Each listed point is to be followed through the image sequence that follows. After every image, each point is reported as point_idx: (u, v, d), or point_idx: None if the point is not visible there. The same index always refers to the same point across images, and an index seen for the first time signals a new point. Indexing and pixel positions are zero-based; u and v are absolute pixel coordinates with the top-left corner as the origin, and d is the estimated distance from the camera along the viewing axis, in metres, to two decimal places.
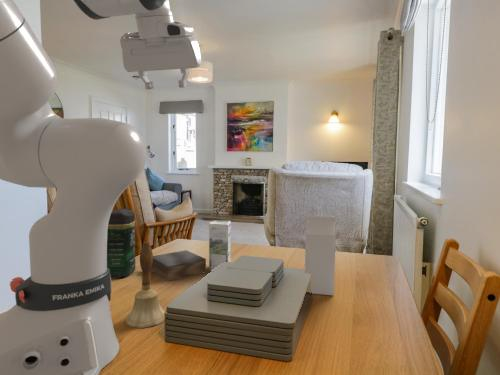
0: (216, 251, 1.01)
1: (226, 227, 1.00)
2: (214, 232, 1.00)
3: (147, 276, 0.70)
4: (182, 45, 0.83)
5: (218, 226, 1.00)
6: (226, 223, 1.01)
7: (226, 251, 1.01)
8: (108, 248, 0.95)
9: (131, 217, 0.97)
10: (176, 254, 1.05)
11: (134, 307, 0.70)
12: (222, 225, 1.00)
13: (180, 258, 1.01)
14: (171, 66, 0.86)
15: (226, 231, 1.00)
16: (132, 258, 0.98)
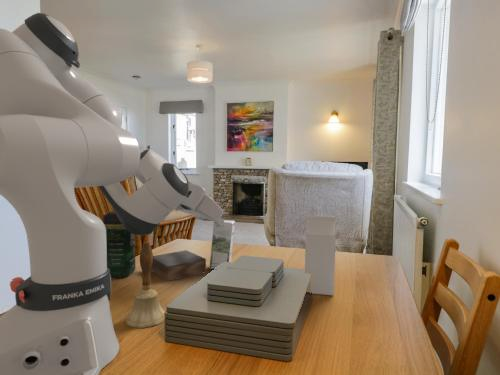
0: (218, 249, 1.01)
1: (230, 225, 1.01)
2: (218, 229, 1.01)
3: (147, 276, 0.70)
4: None
5: (223, 224, 1.01)
6: (231, 222, 1.02)
7: (228, 249, 1.01)
8: (108, 248, 0.95)
9: None
10: (176, 254, 1.05)
11: (134, 307, 0.70)
12: (227, 223, 1.01)
13: (180, 258, 1.01)
14: (203, 217, 0.98)
15: (230, 229, 1.01)
16: (132, 258, 0.98)
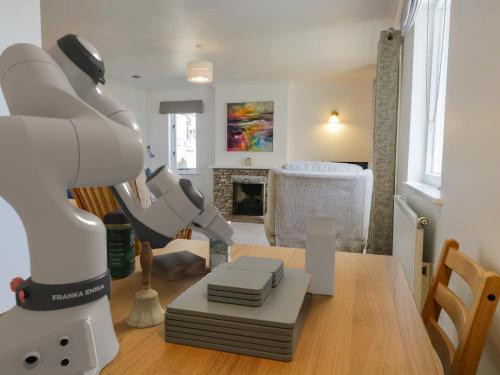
0: (216, 251, 1.01)
1: None
2: None
3: (147, 276, 0.70)
4: None
5: None
6: None
7: (226, 251, 1.01)
8: (108, 248, 0.95)
9: None
10: (176, 254, 1.05)
11: (134, 307, 0.70)
12: None
13: (180, 258, 1.01)
14: (213, 237, 0.98)
15: None
16: (132, 258, 0.98)
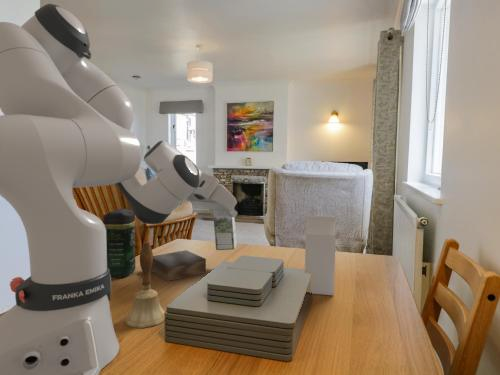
0: (221, 230, 1.02)
1: None
2: (217, 210, 1.01)
3: (147, 276, 0.70)
4: None
5: None
6: None
7: (231, 229, 1.01)
8: (108, 248, 0.95)
9: (131, 217, 0.97)
10: (176, 254, 1.05)
11: (134, 307, 0.70)
12: None
13: (180, 258, 1.01)
14: (217, 209, 0.99)
15: None
16: (132, 258, 0.98)
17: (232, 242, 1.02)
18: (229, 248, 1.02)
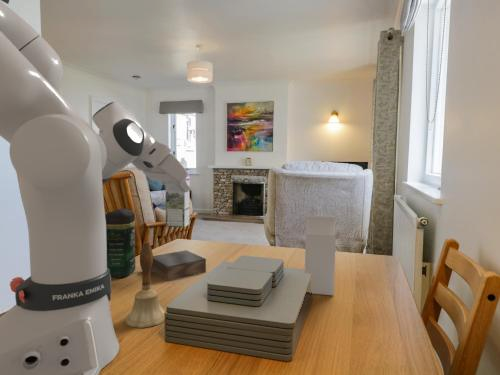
0: (172, 205, 0.97)
1: None
2: (170, 185, 0.97)
3: (147, 276, 0.70)
4: None
5: None
6: None
7: (183, 205, 0.97)
8: (108, 248, 0.95)
9: (131, 217, 0.97)
10: (176, 254, 1.05)
11: (134, 307, 0.70)
12: None
13: (180, 258, 1.01)
14: (168, 181, 0.95)
15: None
16: (132, 258, 0.98)
17: (183, 219, 0.98)
18: (179, 225, 0.98)
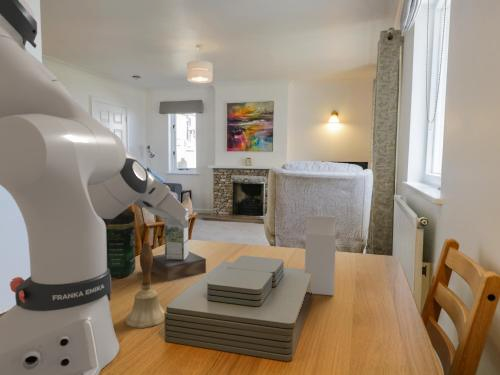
0: (171, 239, 0.98)
1: None
2: (169, 219, 0.98)
3: (147, 276, 0.70)
4: None
5: None
6: None
7: (182, 239, 0.98)
8: (108, 248, 0.95)
9: (131, 217, 0.97)
10: None
11: (134, 307, 0.70)
12: None
13: None
14: (167, 218, 0.95)
15: None
16: (132, 258, 0.98)
17: (182, 252, 0.99)
18: (178, 258, 0.99)
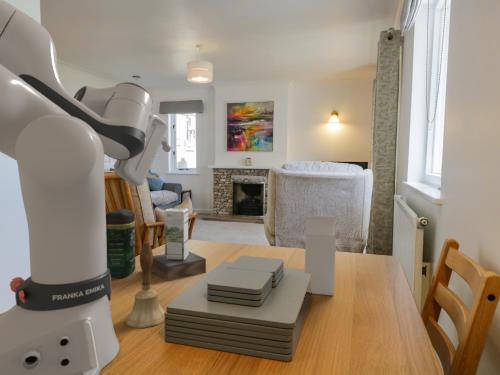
0: (172, 239, 0.98)
1: (182, 214, 0.97)
2: (169, 219, 0.98)
3: (147, 276, 0.70)
4: (152, 123, 0.95)
5: (174, 213, 0.98)
6: (182, 210, 0.98)
7: (182, 239, 0.98)
8: (108, 248, 0.95)
9: (131, 217, 0.97)
10: None
11: (134, 307, 0.70)
12: (178, 212, 0.98)
13: None
14: (159, 144, 0.97)
15: (182, 218, 0.98)
16: (132, 258, 0.98)
17: (182, 252, 0.99)
18: (179, 258, 0.99)
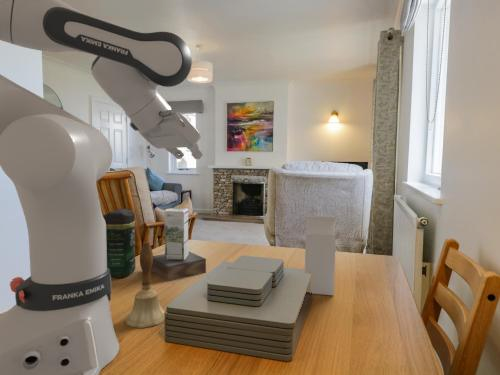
0: (172, 239, 0.98)
1: (182, 214, 0.98)
2: (169, 219, 0.98)
3: (147, 276, 0.70)
4: None
5: (174, 213, 0.98)
6: (182, 210, 0.98)
7: (182, 239, 0.98)
8: (108, 248, 0.95)
9: (131, 217, 0.97)
10: None
11: (134, 307, 0.70)
12: (178, 212, 0.98)
13: None
14: None
15: (182, 218, 0.98)
16: (132, 258, 0.98)
17: (182, 252, 0.99)
18: (179, 258, 0.99)
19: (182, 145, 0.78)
